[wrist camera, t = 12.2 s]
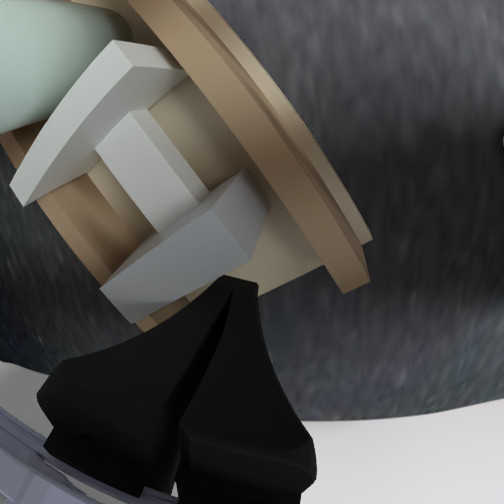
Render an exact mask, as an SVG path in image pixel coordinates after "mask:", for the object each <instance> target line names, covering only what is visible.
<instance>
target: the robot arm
mask: <svg viewBox="0 0 504 504" xmlns="http://www.w3.org/2000/svg"><path fill="white" fill-rule="evenodd" d="M503 146H504V136H503ZM258 289H259V285H258V284H257V283H256V282H252V281H248V280H244V279H240V278H235V277H231V276H227V275H222V276H221V277H219V278H217V279H216V280H215V281H214V282H213V283H212V284H211V285H210V286H209V287H208V288H207V289H206V290H204V291H203V292H202V293H201V294H200V295H199V296H197V297H196V298H195V299H194V300H193V301H191V302H190V303H189V304H188V305H186V306H185V307H184V308H182V309H181V310H179V311H178V312H177V313H175V314H174V315H172V316H171V317H169V318H168V319H166V320H165V321H163V322H162V323H160V324H158V325H157V326H155V327H153V328H151V329H150V330H148V331H146V332H144V333H142V334H140V335H138V336H136V337H134V338H132V339H130V340H127V341H125V342H123V343H120V344H118V345H115V346H112V347H110V348H107V349H104V350H101V351H98V352H95V353H91V354H88V355H84V356H80V357H76V358H71V359H67V360H62V361H61V363H60V364H59V365H58V366H57V367H56V368H55V369H54V370H53V372H52V373H51V374H50V376H49V377H48V378H47V380H46V381H45V383H44V384H43V385H42V387H41V388H40V390H39V391H38V393H37V401H38V403H39V405H40V407H41V409H42V411H43V412H44V413H45V415H46V417H47V418H48V420H49V421H50V422H51V424H52V425H53V427H54V428H53V430H52V432H51V433H50V435H49V437H48V438H46V437H44V436H42V435H41V434H39V433H38V432H36V431H35V430H33V429H32V428H30V427H29V426H27V425H26V424H24V423H23V422H21V421H20V420H18V419H17V418H15V417H14V416H13V415H11V414H10V413H8V412H7V411H6V410H4V409H3V408H2V407H0V492H1V493H2V494H3V495H4V496H6V499H5V501H4V503H3V504H102V503H100V502H98V501H96V500H94V499H92V498H90V497H88V496H86V494H85V493H84V492H82V491H81V490H79V489H78V488H77V487H75V486H74V485H73V484H72V483H71V482H70V481H69V480H68V479H67V478H66V476H65V475H63V474H61V473H60V472H59V471H57V470H56V469H54V468H53V467H51V466H50V465H48V464H47V463H45V462H44V461H46V462H48V463H49V464H51V465H52V466H54V467H56V468H57V469H59V470H61V471H62V472H64V473H66V474H68V475H70V476H71V477H73V478H75V479H77V480H79V481H80V482H82V483H84V484H86V485H88V486H90V487H92V488H94V489H96V490H98V491H100V492H102V493H105V494H107V495H109V496H111V497H113V498H116V499H118V500H120V501H123V502H125V503H127V504H300V499H301V493H302V492H304V491H305V490H306V489H307V488H308V487H310V486H311V485H312V484H313V483H314V481H315V480H316V475H317V465H316V454H315V448H314V443H313V439H312V437H311V436H310V434H309V433H308V431H307V430H306V429H305V427H304V426H303V424H302V423H301V421H300V419H299V418H298V416H297V415H296V413H295V411H294V410H293V408H292V406H291V404H290V403H289V401H288V399H287V397H286V395H285V393H284V391H283V389H282V387H281V385H280V383H279V381H278V378H277V376H276V373H275V371H274V368H273V366H272V363H271V360H270V357H269V354H268V351H267V348H266V344H265V341H264V337H263V332H262V328H261V322H260V316H259V309H258ZM43 460H44V461H43ZM175 482H176V485H177V492H178V497H175V496H171V493H172V489H173V486H174V483H175Z"/></svg>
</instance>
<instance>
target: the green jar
mask: <svg viewBox="0 0 504 504" xmlns="http://www.w3.org/2000/svg"><path fill="white" fill-rule="evenodd" d="M112 40H117V41H124V42H131V43H133V37H132V32H131V29H130V27H129V25H128V23H127V21H126V20H125V19H124V18H123V16H121V15H120V14H119V13H117V12H116V11H114V10H111V9H108V8H103V7H98V6H93V5H88V4H82V3H76V2H70V1H63V0H0V134H3V133H5V132H8V131H11V130H14V129H17V128H20V127H23V126H26V125H29V124H32V123H35V122H39V121H42V120H46V119H49V118H50V116H51V115H52V113H53V112H54V111H55V109H56V108H57V106H58V105H59V104H60V102H61V101H62V99H63V98H64V97H65V95H66V94H67V93H68V91H69V90H70V89H71V88H72V86H73V85H74V84H75V82H76V81H77V80H78V79H79V77H80V76H81V75H82V74H83V73H84V71H85V70H86V69H87V68H88V67H89V65H90V64H91V63H92V62H93V61H94V60H95V58H96V57H97V56H98V55H99V54H100V53H101V52H102V51H103V49H104V48H105V47H106V46H107V45H108V44H109V43H110V42H111V41H112Z"/></svg>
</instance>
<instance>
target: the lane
mask: <svg viewBox="0 0 504 504" xmlns="http://www.w3.org/2000/svg"><path fill="white" fill-rule="evenodd" d="M71 2H76V3H82V4H88V5H93V6H98V7H103V8H108V9H111V10H114V11H116V12H117V13H119V14H120V15H121V16H123V18H124V19H125V20H126V21H127V23H128V25H129V27H130V29H131V32H132V37H133V43H137V44H143V45H149V46H154V47H159V48H164V49H168V50H169V51H170V52H171V53H172V55H173V56H174V57H175V58H176V60H177V61H178V62H179V63H180V65H181V66H182V67H183V68H184V70H185V71H186V72H187V73H188V76H186V77H185V78H184V79H183V80H182V81H180V82H179V83H178V84H177V85H176V86H175V87H173V88H172V89H171V90H170V91H169V92H168V93H167V94H165V95H164V96H163V97H162V98H161V99H160V100H159V101H158V102H156V103H155V104H154V105H153V106H152V107H151V108H150V109H149V110H148V111H149V112H150V114H151V115H152V116H153V118H154V119H155V120H156V122H157V123H158V124H159V126H160V127H161V128H162V129H163V131H164V132H165V133H166V135H167V136H168V137H169V139H170V140H171V141H172V143H173V144H174V145H175V147H176V148H177V149H178V151H179V152H180V153H181V155H182V156H183V157H184V159H185V160H186V161H187V163H188V164H189V165H190V167H191V168H192V169H193V171H194V172H195V173H196V175H197V176H198V177H199V178H200V180H201V181H202V182H203V184H204V185H205V186H206V188H207V189H208V190H209V192H210V191H212V190H213V189H215V188H216V187H218V186H219V185H220V184H222V183H223V182H225V181H226V180H228V179H229V178H231V177H232V176H234V175H235V174H237V173H238V172H240V171H241V170H243V169H244V168H246V170H247V171H248V172H249V174H250V175H251V177H252V178H253V179H254V181H255V182H256V184H257V185H258V186H259V188H260V189H261V191H262V192H263V193H264V195H265V196H266V198H267V199H268V201H269V202H270V203H271V206H270V209H269V211H268V214H267V217H266V220H265V222H264V225H263V228H262V230H261V233H260V236H259V239H258V241H257V244H256V247H255V250H254V252H253V255H252V258H251V260H250V261H248V262H247V263H245V264H243V265H241V266H239V267H237V268H235V269H234V270H232V271H230V272H228V273H226V274H224V275H227V276H231V277H235V278H240V279H244V280H248V281H252V282H256V283H257V284H258V285H259V289H258V296H260V295H262V294H264V293H266V292H268V291H270V290H272V289H275V288H277V287H279V286H281V285H283V284H285V283H287V282H289V281H291V280H293V279H295V278H297V277H299V276H301V275H303V274H306V273H308V272H310V271H312V270H314V269H316V268H318V267H320V266H322V265H325V267H326V268H327V270H328V271H329V273H330V274H331V276H332V278H333V279H334V281H335V282H336V284H337V285H338V287H339V289H340V290H341V292H342V293H343V294H345V293H348V292H350V291H352V290H354V289H356V288H358V287H360V286H362V285H364V284H367V283H369V282H371V281H370V277H369V273H368V268H367V264H366V260H365V256H364V252H363V249H362V245H363V244H365V243H367V242H369V241H371V240H373V238H372V235H371V233H370V230H369V228H368V226H367V225H366V223H365V221H364V219H363V217H362V216H361V214H360V212H359V210H358V208H357V207H356V205H355V203H354V201H353V200H352V198H351V196H350V195H349V193H348V191H347V189H346V188H345V186H344V184H343V183H342V181H341V179H340V178H339V176H338V174H337V173H336V171H335V170H334V168H333V166H332V165H331V163H330V162H329V160H328V158H327V157H326V155H325V154H324V152H323V151H322V149H321V147H320V146H319V144H318V143H317V141H316V140H315V138H314V137H313V135H312V134H311V132H310V131H309V129H308V128H307V126H306V125H305V123H304V122H303V120H302V119H301V118H300V116H299V115H298V113H297V112H296V110H295V109H294V108H293V106H292V105H291V103H290V102H289V101H288V99H287V98H286V96H285V95H284V94H283V92H282V91H281V90H280V88H279V87H278V85H277V84H276V83H275V81H274V80H273V79H272V77H271V76H270V75H269V73H268V72H267V71H266V70H265V68H264V67H263V66H262V64H261V63H260V62H259V61H258V59H257V58H256V57H255V56H254V54H253V53H252V52H251V51H250V49H249V48H248V47H247V46H246V44H245V43H244V42H243V41H242V40H241V38H240V37H239V36H238V35H237V34H236V32H235V31H234V30H233V29H232V28H231V27H230V25H229V24H228V23H227V22H226V21H225V20H224V19H223V17H222V16H221V15H220V14H219V13H218V12H217V11H216V10H215V8H214V7H213V6H212V5H211V4H210V3H209V2H208V1H207V0H71ZM47 121H48V119H46V120H42V121H39V122H35V123H32V124H29V125H26V126H23V127H20V128H17V129H14V130H11V131H8V132H5V133H3V134H0V143H1V145H2V146H3V148H4V150H5V152H6V153H7V155H8V157H9V158H10V160H11V162H12V163H13V165H14V167H15V168H16V170H18V168H19V166H20V165H21V163H22V161H23V159H24V158H25V156H26V154H27V152H28V151H29V149H30V147H31V146H32V144H33V142H34V141H35V139H36V138H37V136H38V134H39V133H40V131H41V130H42V128H43V127H44V125H45V124H46V122H47ZM36 201H37V202H38V204H39V205H40V207H41V208H42V209H43V211H44V212H45V214H46V215H47V217H48V218H49V219H50V221H51V222H52V224H53V225H54V226H55V228H56V229H57V230H58V232H59V233H60V234H61V236H62V237H63V238H64V240H65V241H66V242H67V244H68V245H69V246H70V248H71V249H72V250H73V251H74V253H75V254H76V255H77V256H78V258H79V259H80V260H81V261H82V263H83V264H84V265H85V266H86V268H87V269H88V270H89V271H90V273H91V274H92V275H93V276H94V277H95V278H96V280H97V281H98V282H99V283H100V284H101V286H102V285H103V284H104V283H105V282H106V281H107V280H108V279H109V278H110V277H111V275H112V274H113V273H114V272H115V271H116V270H117V269H118V268H119V267H120V266H121V265H122V264H123V263H124V262H125V261H126V260H127V259H128V258H129V257H130V255H131V254H132V253H133V252H134V251H135V250H136V249H137V248H138V247H139V246H140V245H141V244H142V243H143V242H144V241H145V240H146V239H147V238H148V237H149V236H150V235H151V234H153V233H154V232H155V231H156V229H155V228H154V227H153V226H152V224H151V223H150V222H149V220H148V219H147V218H146V217H145V215H144V214H143V213H142V212H141V210H140V209H139V208H138V206H137V205H136V204H135V202H134V201H133V200H132V199H131V197H130V196H129V195H128V193H127V192H126V191H125V189H124V188H123V187H122V185H121V184H120V183H119V181H118V180H117V179H116V177H115V176H114V175H113V173H112V172H111V171H110V169H109V168H108V167H107V165H106V164H105V162H104V161H103V160H102V158H101V159H100V160H99V161H98V162H97V163H96V164H95V165H94V166H93V167H92V169H91V170H90V171H89V172H87V173H85V174H83V175H81V176H79V177H77V178H75V179H73V180H71V181H69V182H67V183H66V184H64V185H62V186H60V187H58V188H56V189H54V190H52V191H51V192H49V193H47V194H45V195H43V196H42V197H40V198H38V199H36ZM215 280H216V279H215ZM215 280H213V281H211V282H209V283H207V284H206V285H204V286H202V287H200V288H198V289H196V290H194V291H193V292H191V293H189V294H187V295H185V296H183V297H181V298H179V299H178V300H176V301H174V302H172V303H170V304H168V305H166V306H164V307H163V308H161V309H159V310H157V311H155V312H153V313H151V314H149V315H148V316H146V317H144V318H142V319H140V320H138V321H136V322H135V323H136V324H137V325H138V326H139V328H140V329H141V330H142V331H143V332H146V331H148V330H150V329H151V328H153V327H155V326H157V325H158V324H160V323H162V322H163V321H165V320H166V319H168V318H169V317H171V316H172V315H174V314H175V313H177V312H178V311H179V310H181V309H182V308H184V307H185V306H186V305H188V304H189V303H190V302H191V301H193V300H194V299H195V298H196V297H197V296H199V295H200V294H201V293H202V292H203V291H204V290H206V289H207V288H208V287H209V286H210V285H211V284H212V283H213V282H214V281H215Z"/></svg>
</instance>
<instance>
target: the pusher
mask: <svg viewBox="0 0 504 504" xmlns="http://www.w3.org/2000/svg"><path fill="white" fill-rule="evenodd" d="M186 76H188V73H187V72H186V71H185V70H184V68H183V67H182V66H181V65H180V63H179V62H178V61H177V60H176V58H175V57H174V56H173V55H172V53H171V52H170V51H169V50H168V49H164V48H159V47H154V46H149V45H143V44H137V43H131V42H124V41H117V40H112V41H111V42H110V43H109V44H108V45H107V46H106V47H105V48H104V49H103V51H102V52H101V53H100V54H99V55H98V56H97V57H96V58H95V60H94V61H93V62H92V63H91V64H90V65H89V67H88V68H87V69H86V70H85V71H84V73H83V74H82V75H81V76H80V77H79V79H78V80H77V81H76V82H75V84H74V85H73V86H72V88H71V89H70V90H69V91H68V93H67V94H66V95H65V97H64V98H63V99H62V101H61V102H60V104H59V105H58V106H57V108H56V109H55V111H54V112H53V113H52V115H51V116H50V118H49V119H48V121H47V122H46V124H45V125H44V127H43V128H42V130H41V131H40V133H39V134H38V136H37V138H36V139H35V141H34V142H33V144H32V146H31V147H30V149H29V151H28V152H27V154H26V156H25V158H24V159H23V161H22V163H21V165H20V166H19V168H18V170H17V172H16V174H15V176H14V177H13V179H12V181H11V183H10V187H11V188H12V190H13V191H14V193H15V195H16V196H17V198H18V199H19V201H20V202H21V204H22V205H23V207H24V206H26V205H28V204H29V203H31V202H33V201H34V200H36V199H38V198H40V197H42V196H43V195H45V194H47V193H49V192H51V191H52V190H54V189H56V188H58V187H60V186H62V185H64V184H66V183H67V182H69V181H71V180H73V179H75V178H77V177H79V176H81V175H83V174H85V173H87V172H89V171H90V170H91V169H92V167H93V166H94V165H95V164H96V163H97V162H98V161H99V160H100V159H101V158H102V160H103V161H104V162H105V164H106V165H107V167H108V168H109V169H110V171H111V172H112V173H113V175H114V176H115V177H116V179H117V180H118V181H119V183H120V184H121V185H122V187H123V188H124V189H125V191H126V192H127V193H128V195H129V196H130V197H131V199H132V200H133V201H134V202H135V204H136V205H137V206H138V208H139V209H140V210H141V212H142V213H143V214H144V215H145V217H146V218H147V219H148V220H149V222H150V223H151V224H152V226H153V227H154V228H155V229H156V231H155V232H154V233H153V234H151V235H150V236H149V237H148V238H147V239H146V240H145V241H144V242H143V243H142V244H141V245H140V246H139V247H138V248H137V249H136V250H135V251H134V252H133V253H132V254H131V255H130V257H129V258H128V259H127V260H126V261H125V262H124V263H123V264H122V265H121V266H120V267H119V268H118V269H117V270H116V271H115V272H114V273H113V274H112V275H111V277H110V278H109V279H108V280H107V281H106V282H105V283H104V284H103V285H102V286H101V287H100V290H101V291H102V292H103V294H104V295H105V296H106V297H107V298H108V299H109V300H110V302H111V303H112V304H113V305H114V306H115V307H116V308H117V309H118V310H119V311H120V313H121V314H122V315H123V316H124V317H125V318H126V319H127V320H128V321H129V322H130V323H131V324H133V323H134V322H136V321H138V320H140V319H142V318H144V317H146V316H148V315H149V314H151V313H153V312H155V311H157V310H159V309H161V308H163V307H164V306H166V305H168V304H170V303H172V302H174V301H176V300H178V299H179V298H181V297H183V296H185V295H187V294H189V293H191V292H193V291H194V290H196V289H198V288H200V287H202V286H204V285H206V284H207V283H209V282H211V281H213V280H215V279H217V278H219V277H221V276H222V275H224V274H226V273H228V272H230V271H232V270H234V269H235V268H237V267H239V266H241V265H243V264H245V263H247V262H248V261H250V260H251V258H252V255H253V252H254V250H255V247H256V244H257V241H258V239H259V236H260V233H261V230H262V228H263V225H264V222H265V220H266V217H267V214H268V211H269V209H270V206H271V203H270V202H269V201H268V199H267V198H266V196H265V195H264V193H263V192H262V191H261V189H260V188H259V186H258V185H257V184H256V182H255V181H254V179H253V178H252V177H251V175H250V174H249V172H248V171H247V170H246V168H244V169H243V170H241V171H240V172H238V173H237V174H235V175H234V176H232V177H231V178H229V179H228V180H226V181H225V182H223V183H222V184H220V185H219V186H218V187H216V188H215V189H213V190H212V191H210V192H209V190H208V189H207V188H206V186H205V185H204V184H203V182H202V181H201V180H200V178H199V177H198V176H197V175H196V173H195V172H194V171H193V169H192V168H191V167H190V165H189V164H188V163H187V161H186V160H185V159H184V157H183V156H182V155H181V153H180V152H179V151H178V149H177V148H176V147H175V145H174V144H173V143H172V141H171V140H170V139H169V137H168V136H167V135H166V133H165V132H164V131H163V129H162V128H161V127H160V126H159V124H158V123H157V122H156V120H155V119H154V118H153V116H152V115H151V114H150V112H149V111H148V110H149V109H150V108H151V107H152V106H153V105H154V104H155V103H156V102H158V101H159V100H160V99H161V98H162V97H163V96H164V95H165V94H167V93H168V92H169V91H170V90H171V89H172V88H173V87H175V86H176V85H177V84H178V83H179V82H180V81H182V80H183V79H184V78H185V77H186Z"/></svg>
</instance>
